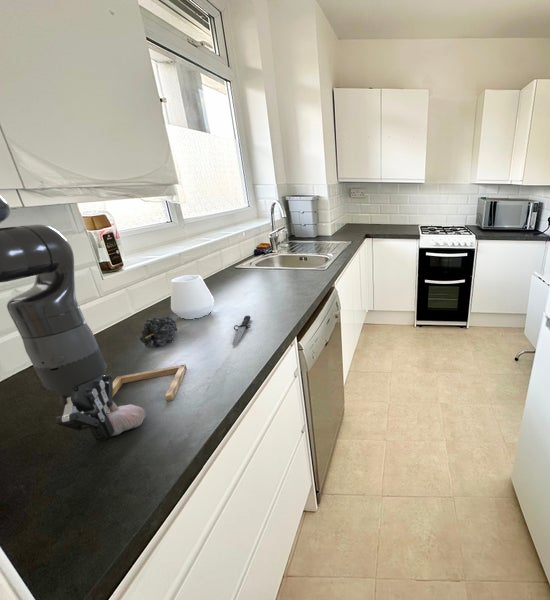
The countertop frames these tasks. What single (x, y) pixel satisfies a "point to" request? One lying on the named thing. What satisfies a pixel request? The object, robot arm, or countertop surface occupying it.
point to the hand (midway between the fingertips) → (105, 436)
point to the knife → (241, 329)
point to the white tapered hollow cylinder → (190, 297)
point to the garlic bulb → (125, 417)
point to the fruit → (158, 331)
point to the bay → (173, 387)
